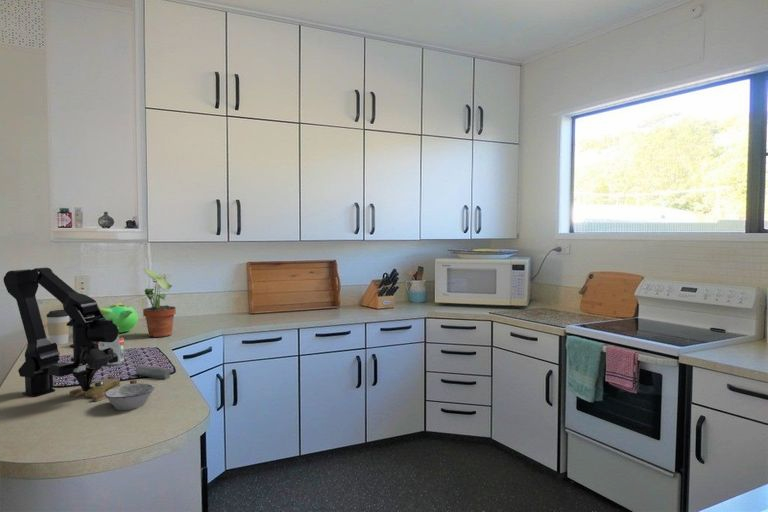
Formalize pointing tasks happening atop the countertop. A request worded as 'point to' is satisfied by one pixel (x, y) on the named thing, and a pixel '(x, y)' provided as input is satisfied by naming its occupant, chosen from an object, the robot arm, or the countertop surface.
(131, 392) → the bowl
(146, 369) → the bench stop
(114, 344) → the ink box
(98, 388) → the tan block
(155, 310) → the potted plant
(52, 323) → the coffee cup
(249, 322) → the countertop surface
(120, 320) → the toy bird
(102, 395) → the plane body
